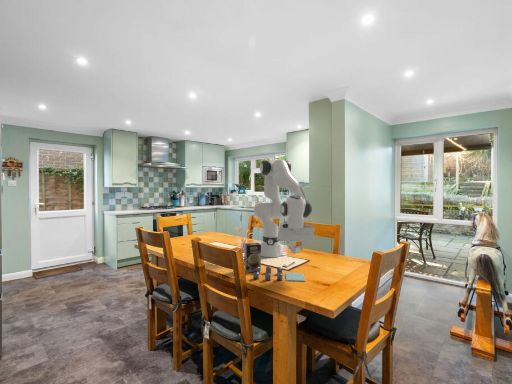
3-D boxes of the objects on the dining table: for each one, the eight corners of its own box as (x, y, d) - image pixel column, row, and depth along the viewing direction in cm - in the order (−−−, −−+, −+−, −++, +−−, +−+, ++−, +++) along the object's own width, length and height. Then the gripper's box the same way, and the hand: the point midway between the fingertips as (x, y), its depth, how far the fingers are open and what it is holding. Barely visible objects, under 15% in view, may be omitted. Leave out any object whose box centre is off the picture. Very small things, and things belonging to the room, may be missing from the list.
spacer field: (255, 271, 157) (255, 265, 157) (282, 272, 155) (282, 266, 155) (252, 280, 142) (252, 274, 142) (282, 281, 140) (282, 275, 140)
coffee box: (246, 272, 155) (246, 245, 155) (243, 269, 161) (244, 243, 161) (261, 271, 157) (261, 244, 157) (258, 268, 164) (258, 242, 163)
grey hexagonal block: (290, 250, 150) (290, 245, 150) (299, 251, 150) (299, 245, 150) (291, 253, 144) (291, 247, 144) (300, 253, 144) (300, 248, 144)
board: (285, 273, 154) (285, 272, 154) (302, 274, 153) (302, 273, 153) (286, 280, 142) (286, 279, 142) (305, 281, 141) (305, 280, 141)
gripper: (313, 224, 149) (313, 248, 149) (277, 223, 151) (277, 247, 151) (315, 225, 143) (314, 251, 143) (277, 225, 145) (277, 250, 145)
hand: (295, 249), depth 147 cm, fingers closed on grey hexagonal block, 5 cm apart
